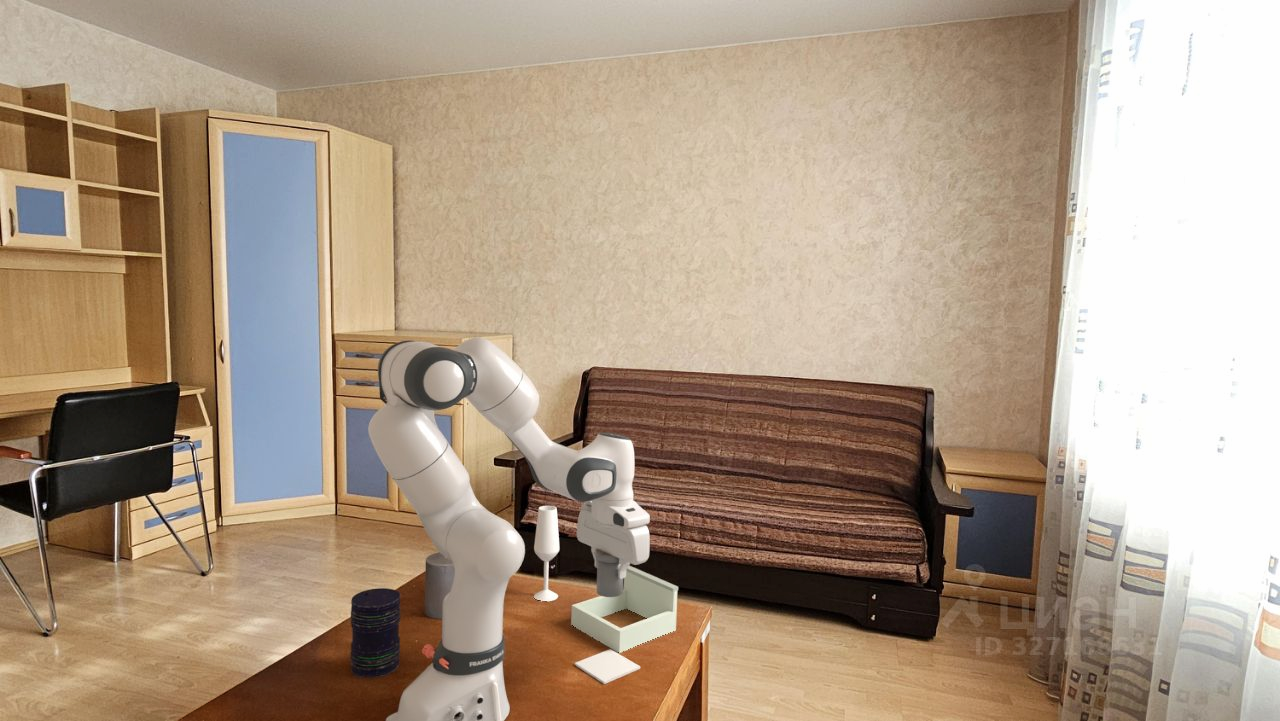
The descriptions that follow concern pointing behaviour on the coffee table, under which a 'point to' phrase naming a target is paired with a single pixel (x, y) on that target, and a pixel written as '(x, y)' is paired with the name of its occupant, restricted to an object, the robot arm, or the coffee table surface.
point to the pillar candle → (437, 583)
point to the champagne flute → (546, 545)
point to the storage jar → (375, 632)
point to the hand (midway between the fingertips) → (610, 572)
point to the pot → (608, 575)
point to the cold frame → (639, 597)
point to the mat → (607, 666)
